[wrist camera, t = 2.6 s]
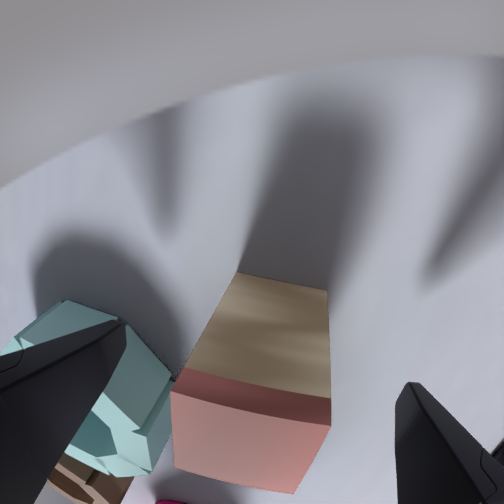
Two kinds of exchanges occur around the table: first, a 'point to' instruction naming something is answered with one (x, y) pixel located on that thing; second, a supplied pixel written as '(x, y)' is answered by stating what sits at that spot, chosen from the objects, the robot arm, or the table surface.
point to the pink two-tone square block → (256, 387)
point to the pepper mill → (168, 502)
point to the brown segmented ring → (87, 483)
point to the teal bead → (113, 397)
